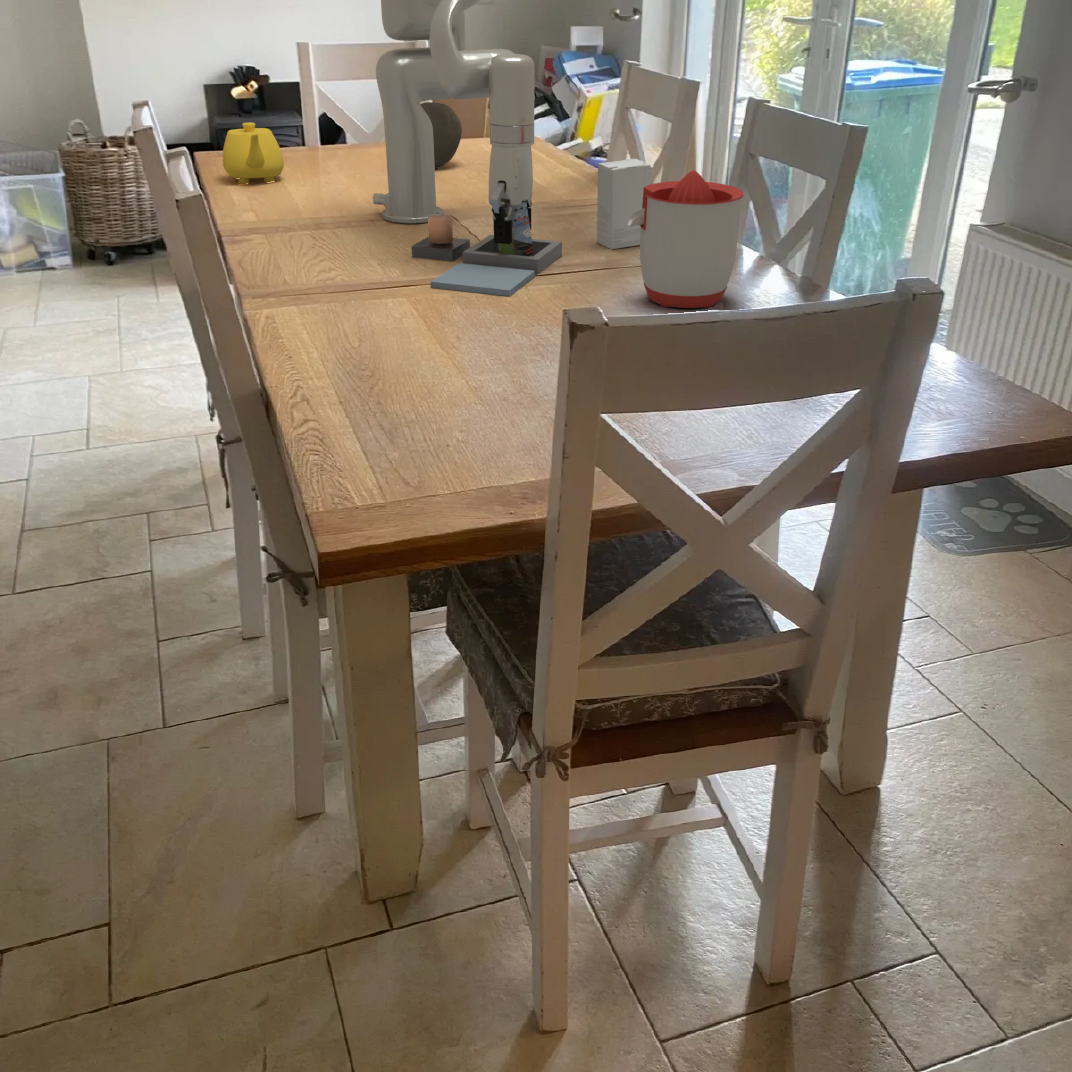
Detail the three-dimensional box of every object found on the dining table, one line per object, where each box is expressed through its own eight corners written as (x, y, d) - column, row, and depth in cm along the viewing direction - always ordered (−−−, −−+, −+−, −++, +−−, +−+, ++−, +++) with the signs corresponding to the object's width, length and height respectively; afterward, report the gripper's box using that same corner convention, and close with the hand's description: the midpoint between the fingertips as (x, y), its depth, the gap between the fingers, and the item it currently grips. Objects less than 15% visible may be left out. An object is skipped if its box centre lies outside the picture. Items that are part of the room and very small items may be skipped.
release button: (424, 242, 193) (423, 219, 191) (434, 236, 197) (433, 214, 195) (447, 244, 192) (446, 221, 190) (456, 238, 195) (456, 216, 193)
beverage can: (529, 266, 188) (529, 196, 182) (489, 264, 189) (487, 194, 183) (536, 257, 193) (536, 189, 187) (497, 255, 195) (496, 187, 189)
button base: (412, 257, 193) (411, 246, 192) (430, 246, 200) (430, 235, 199) (452, 261, 191) (452, 250, 190) (470, 250, 197) (469, 239, 196)
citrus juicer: (622, 284, 179) (628, 159, 169) (726, 285, 178) (738, 160, 168) (626, 313, 165) (632, 180, 155) (739, 315, 165) (752, 181, 155)
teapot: (280, 171, 261) (274, 116, 254) (291, 188, 244) (285, 129, 238) (222, 175, 257) (214, 118, 250) (230, 192, 240) (222, 132, 234)
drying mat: (430, 287, 177) (430, 281, 176) (459, 268, 187) (459, 263, 186) (509, 296, 173) (509, 290, 172) (534, 276, 183) (534, 270, 182)
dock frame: (462, 266, 188) (462, 252, 187) (490, 248, 199) (490, 234, 197) (537, 274, 184) (537, 259, 183) (561, 255, 195) (561, 241, 193)
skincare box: (632, 238, 206) (636, 157, 198) (648, 245, 201) (653, 163, 193) (594, 243, 202) (596, 161, 195) (609, 250, 198) (612, 167, 190)
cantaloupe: (460, 172, 260) (458, 106, 252) (402, 172, 260) (398, 106, 253) (464, 161, 272) (462, 98, 265) (409, 161, 272) (405, 98, 265)
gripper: (509, 125, 189) (510, 223, 197) (471, 141, 175) (474, 246, 183) (549, 128, 187) (549, 227, 195) (514, 144, 172) (515, 250, 181)
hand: (512, 236), depth 189 cm, fingers open, 9 cm apart
